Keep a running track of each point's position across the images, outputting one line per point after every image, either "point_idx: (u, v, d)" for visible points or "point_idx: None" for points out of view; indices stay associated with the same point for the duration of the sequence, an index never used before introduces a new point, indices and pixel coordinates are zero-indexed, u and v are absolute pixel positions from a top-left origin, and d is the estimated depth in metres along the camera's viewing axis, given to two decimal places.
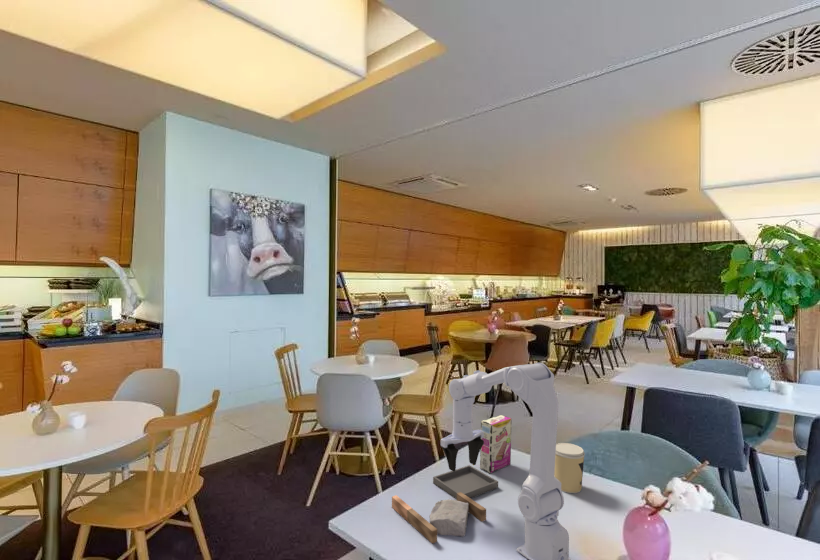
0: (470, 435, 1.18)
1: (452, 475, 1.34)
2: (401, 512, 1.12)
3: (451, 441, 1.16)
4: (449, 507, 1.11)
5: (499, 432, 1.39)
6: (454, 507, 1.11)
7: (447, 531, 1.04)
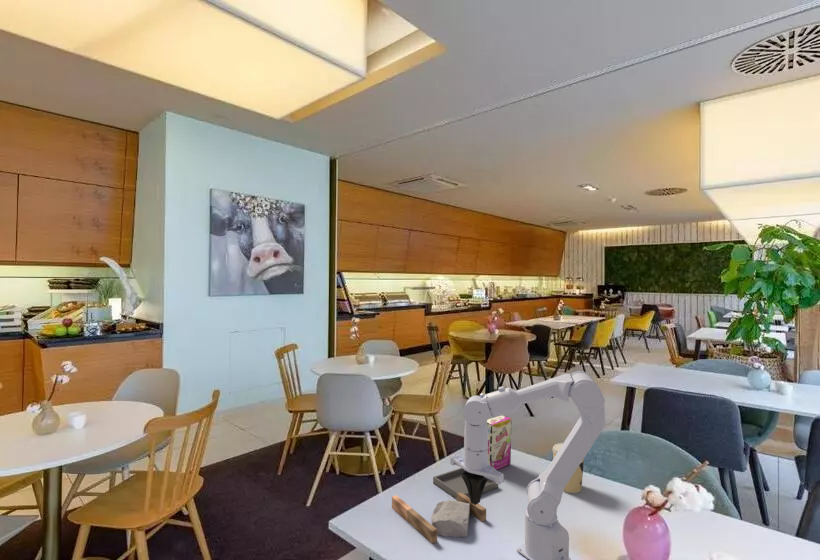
0: (470, 466, 0.98)
1: (452, 475, 1.34)
2: (401, 512, 1.12)
3: (455, 461, 1.03)
4: (450, 508, 1.10)
5: (499, 432, 1.39)
6: (456, 508, 1.10)
7: (449, 532, 1.04)
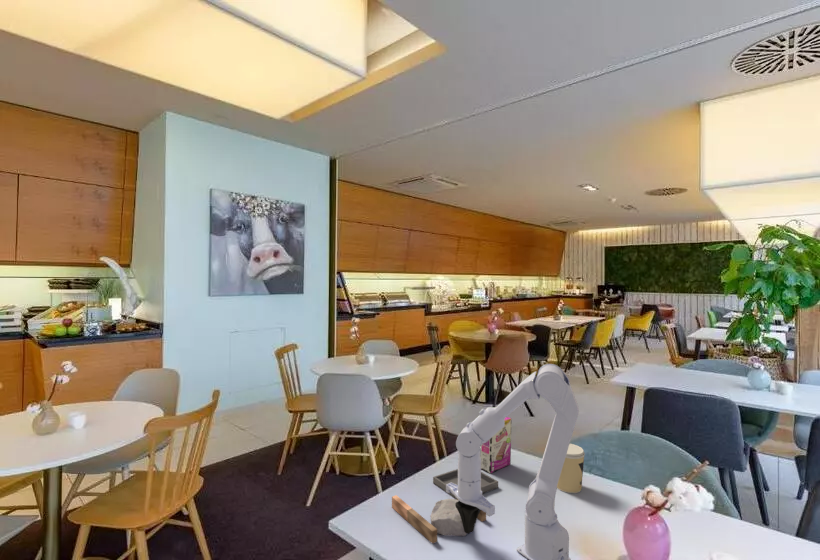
0: (463, 496, 1.00)
1: (452, 475, 1.34)
2: (401, 512, 1.12)
3: (450, 489, 1.06)
4: (449, 506, 1.11)
5: (499, 432, 1.39)
6: (455, 506, 1.11)
7: (449, 531, 1.04)
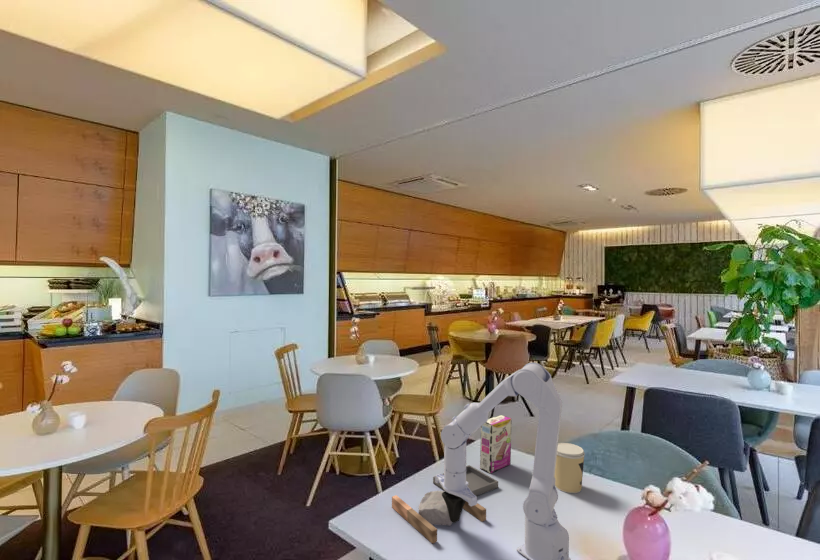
0: (448, 486, 1.05)
1: None
2: (401, 512, 1.12)
3: (438, 480, 1.11)
4: (437, 498, 1.15)
5: (499, 432, 1.39)
6: (442, 498, 1.15)
7: (434, 520, 1.08)
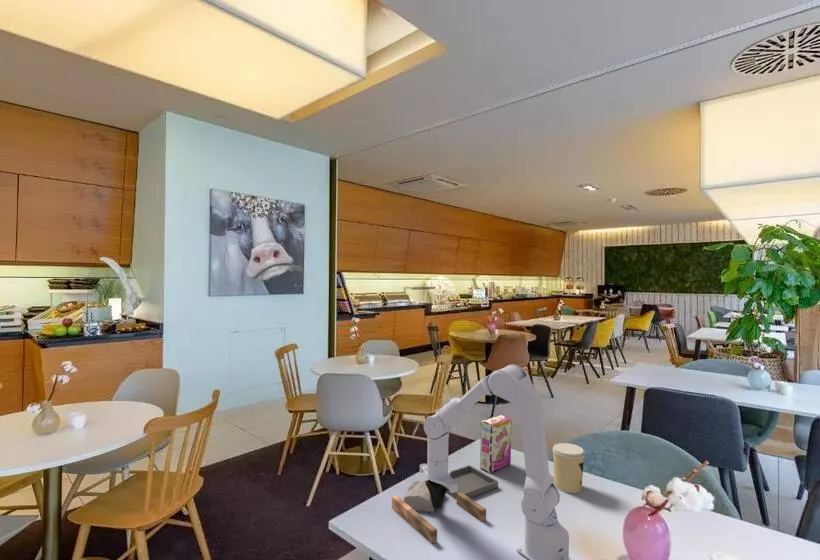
0: (430, 475, 1.11)
1: (452, 475, 1.34)
2: (401, 512, 1.12)
3: (422, 469, 1.17)
4: (423, 486, 1.21)
5: (499, 432, 1.39)
6: None
7: (418, 507, 1.15)
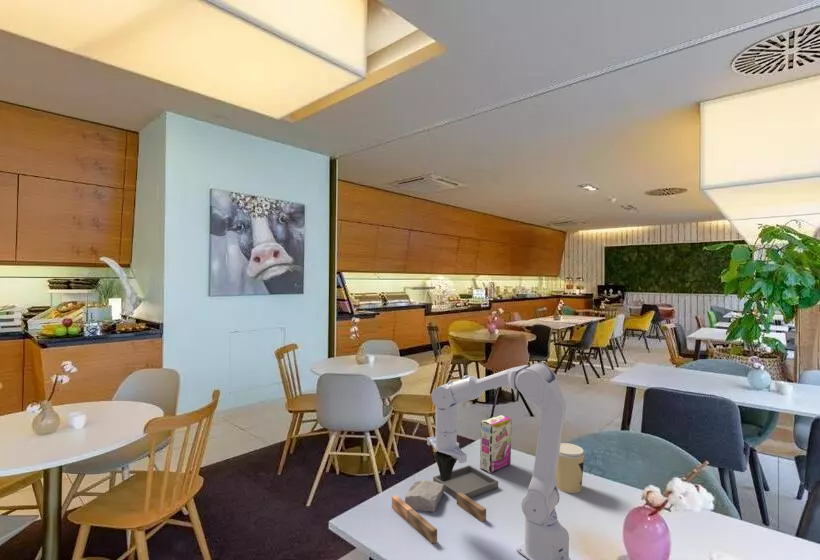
0: (439, 446, 1.09)
1: (452, 475, 1.34)
2: (401, 512, 1.12)
3: (430, 441, 1.15)
4: (424, 486, 1.22)
5: (499, 432, 1.39)
6: (429, 487, 1.22)
7: (419, 507, 1.15)
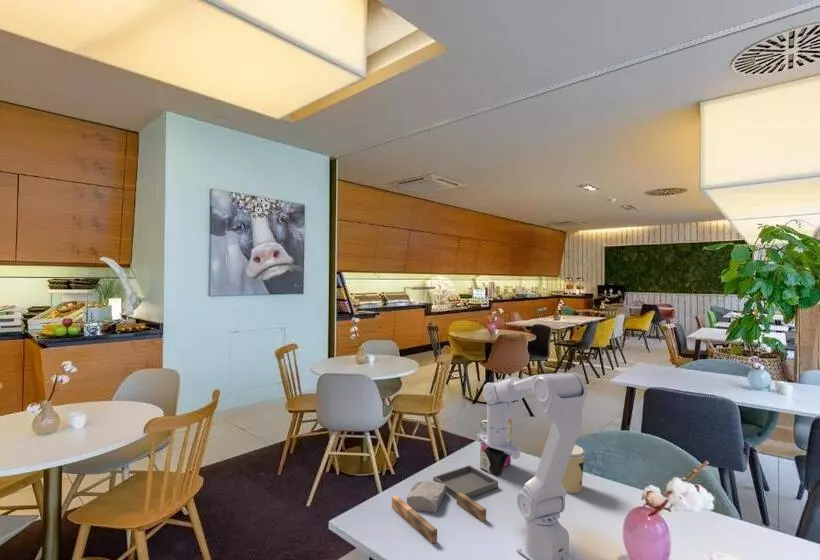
0: (491, 442, 1.12)
1: (452, 475, 1.34)
2: (401, 512, 1.12)
3: (480, 438, 1.17)
4: (426, 487, 1.21)
5: None
6: (431, 487, 1.21)
7: (421, 507, 1.15)
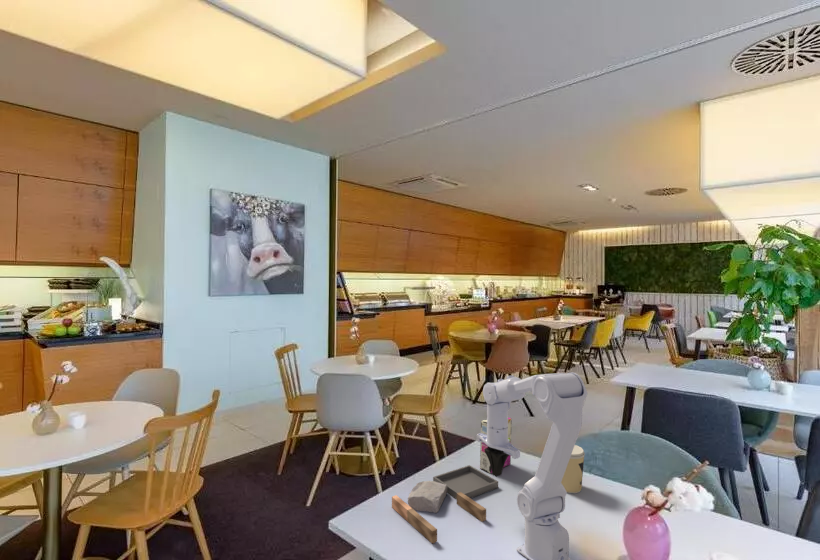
0: (491, 442, 1.12)
1: (452, 475, 1.34)
2: (401, 512, 1.12)
3: (480, 438, 1.17)
4: (427, 487, 1.21)
5: None
6: (432, 487, 1.21)
7: (422, 507, 1.15)
